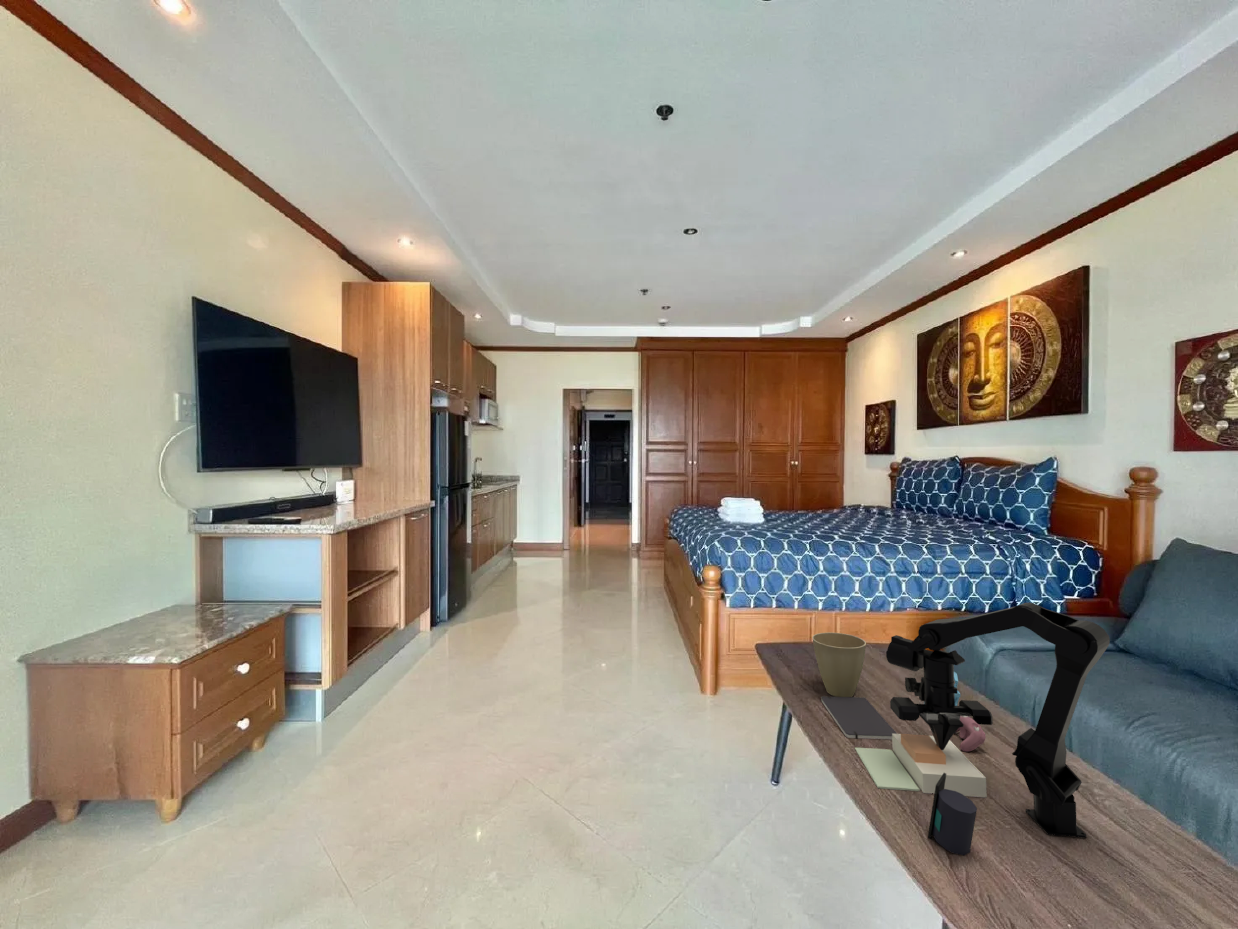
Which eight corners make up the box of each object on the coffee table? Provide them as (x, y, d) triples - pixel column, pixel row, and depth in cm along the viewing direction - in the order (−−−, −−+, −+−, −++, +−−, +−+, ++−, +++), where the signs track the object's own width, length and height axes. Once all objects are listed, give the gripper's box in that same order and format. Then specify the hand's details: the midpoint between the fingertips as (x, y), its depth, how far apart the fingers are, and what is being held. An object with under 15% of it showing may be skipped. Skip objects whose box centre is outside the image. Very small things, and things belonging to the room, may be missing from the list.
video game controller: (979, 760, 117) (993, 734, 117) (959, 750, 118) (973, 724, 118) (958, 738, 127) (971, 714, 126) (940, 729, 128) (953, 705, 127)
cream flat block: (986, 797, 102) (986, 777, 102) (923, 793, 103) (922, 773, 103) (946, 753, 117) (946, 736, 118) (892, 750, 119) (892, 733, 119)
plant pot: (875, 705, 142) (873, 648, 142) (820, 702, 144) (818, 647, 144) (858, 683, 156) (856, 632, 157) (809, 681, 159) (807, 631, 159)
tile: (945, 764, 106) (945, 755, 106) (915, 762, 107) (915, 753, 107) (929, 744, 114) (928, 735, 114) (900, 742, 115) (900, 733, 115)
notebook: (899, 742, 124) (865, 702, 145) (899, 736, 124) (864, 697, 145) (846, 740, 125) (820, 701, 146) (846, 734, 125) (820, 696, 146)
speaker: (915, 830, 92) (921, 777, 92) (936, 823, 95) (942, 771, 94) (957, 864, 85) (963, 806, 85) (978, 855, 88) (985, 799, 87)
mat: (919, 791, 104) (919, 789, 104) (877, 788, 105) (877, 786, 105) (891, 751, 119) (891, 749, 119) (854, 749, 120) (854, 747, 120)
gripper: (965, 666, 117) (967, 732, 117) (880, 662, 120) (882, 727, 120) (993, 686, 106) (995, 760, 106) (899, 682, 109) (901, 754, 109)
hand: (940, 749), depth 110 cm, fingers closed
